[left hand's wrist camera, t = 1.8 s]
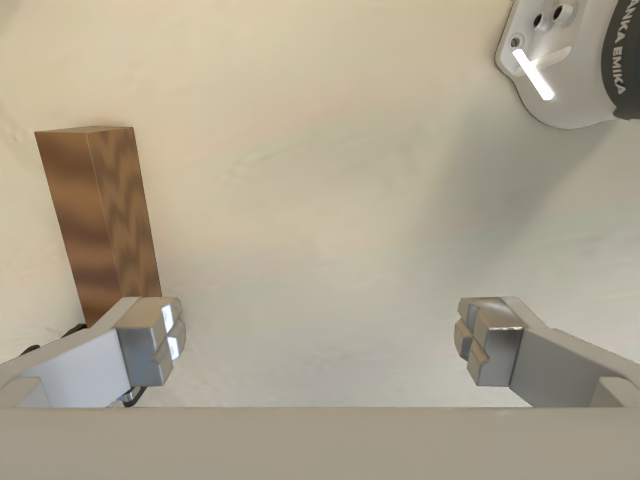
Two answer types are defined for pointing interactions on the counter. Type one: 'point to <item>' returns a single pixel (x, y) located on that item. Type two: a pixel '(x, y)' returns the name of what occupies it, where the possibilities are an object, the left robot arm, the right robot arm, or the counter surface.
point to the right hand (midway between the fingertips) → (119, 330)
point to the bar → (101, 214)
